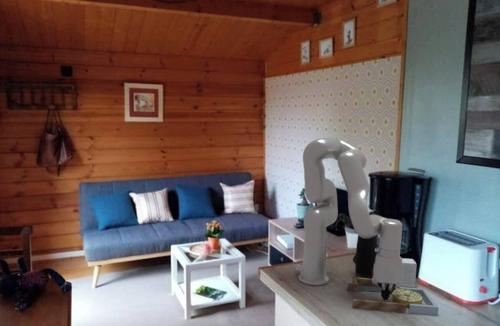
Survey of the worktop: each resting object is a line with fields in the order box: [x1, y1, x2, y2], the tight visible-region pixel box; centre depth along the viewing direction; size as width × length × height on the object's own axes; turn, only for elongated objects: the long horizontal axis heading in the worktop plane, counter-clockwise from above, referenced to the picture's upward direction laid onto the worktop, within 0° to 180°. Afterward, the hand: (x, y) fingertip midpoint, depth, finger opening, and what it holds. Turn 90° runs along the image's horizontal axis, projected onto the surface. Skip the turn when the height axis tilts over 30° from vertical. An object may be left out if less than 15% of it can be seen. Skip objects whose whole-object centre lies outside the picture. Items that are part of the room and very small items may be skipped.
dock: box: [398, 286, 439, 316], centre depth 155 cm, size 10×16×3 cm, turn 174°
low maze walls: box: [346, 276, 407, 314], centre depth 160 cm, size 18×22×3 cm
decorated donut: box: [391, 288, 424, 308], centre depth 157 cm, size 10×11×4 cm
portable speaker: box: [354, 234, 378, 278], centre depth 181 cm, size 9×9×20 cm
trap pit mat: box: [358, 285, 381, 293], centre depth 167 cm, size 12×5×1 cm, turn 84°
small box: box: [398, 258, 418, 288], centre depth 173 cm, size 8×6×10 cm
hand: (385, 298), depth 157 cm, fingers closed
